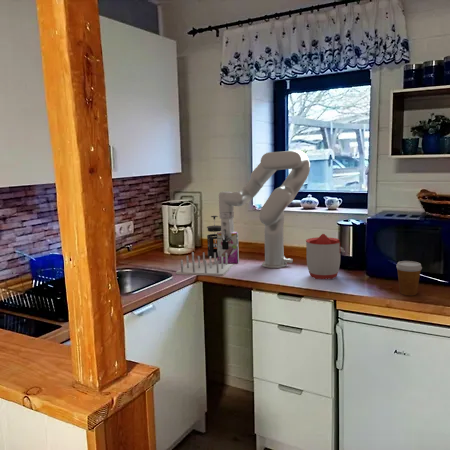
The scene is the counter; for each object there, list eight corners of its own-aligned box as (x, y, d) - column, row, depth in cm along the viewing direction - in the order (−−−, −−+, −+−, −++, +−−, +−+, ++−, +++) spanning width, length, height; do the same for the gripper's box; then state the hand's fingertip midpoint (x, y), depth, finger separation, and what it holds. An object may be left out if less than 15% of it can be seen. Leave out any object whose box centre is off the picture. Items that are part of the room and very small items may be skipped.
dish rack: (232, 265, 235) (232, 252, 234) (223, 275, 217) (222, 261, 216) (188, 264, 241) (187, 251, 240) (175, 274, 223) (175, 260, 222)
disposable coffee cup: (394, 288, 188) (395, 260, 186) (419, 290, 185) (420, 261, 183) (396, 295, 179) (396, 266, 177) (422, 297, 176) (423, 267, 174)
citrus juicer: (346, 281, 200) (346, 236, 197) (306, 281, 203) (305, 237, 200) (343, 272, 216) (343, 230, 212) (305, 272, 218) (305, 230, 215)
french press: (211, 253, 265) (210, 214, 262) (227, 254, 262) (225, 214, 258) (203, 258, 255) (201, 217, 251) (219, 259, 251) (217, 217, 248)
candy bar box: (217, 264, 240) (216, 233, 238) (218, 261, 245) (217, 231, 243) (238, 263, 239) (237, 232, 237) (239, 261, 244) (238, 231, 241)
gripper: (229, 217, 229) (230, 251, 232) (237, 212, 246) (238, 244, 248) (215, 217, 231) (216, 250, 234) (223, 213, 247) (224, 244, 250)
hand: (227, 247), depth 241 cm, fingers open, 9 cm apart
